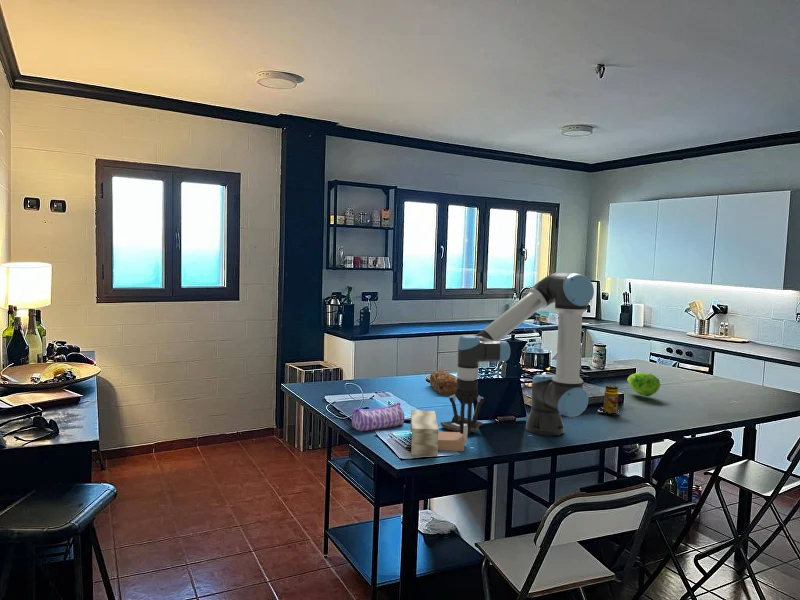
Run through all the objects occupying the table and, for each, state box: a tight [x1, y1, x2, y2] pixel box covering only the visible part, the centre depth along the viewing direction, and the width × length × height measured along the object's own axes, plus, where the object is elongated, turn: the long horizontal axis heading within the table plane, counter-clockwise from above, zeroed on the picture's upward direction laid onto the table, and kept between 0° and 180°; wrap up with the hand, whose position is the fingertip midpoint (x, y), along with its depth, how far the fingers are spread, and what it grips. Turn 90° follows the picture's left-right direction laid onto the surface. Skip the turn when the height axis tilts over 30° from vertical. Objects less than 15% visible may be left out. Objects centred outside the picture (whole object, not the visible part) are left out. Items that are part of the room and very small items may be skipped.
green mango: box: [627, 372, 661, 397], centre depth 313 cm, size 14×20×12 cm
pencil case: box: [351, 402, 405, 432], centre depth 235 cm, size 22×9×10 cm, turn 129°
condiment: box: [597, 384, 619, 414], centre depth 274 cm, size 7×8×12 cm
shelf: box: [409, 409, 440, 457], centre depth 217 cm, size 9×24×10 cm, turn 0°
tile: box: [438, 431, 465, 452], centre depth 217 cm, size 14×10×4 cm
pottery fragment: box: [440, 414, 483, 433], centre depth 236 cm, size 15×12×4 cm
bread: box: [429, 370, 458, 396], centre depth 301 cm, size 19×11×10 cm, turn 11°
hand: (464, 442), depth 217 cm, fingers closed
